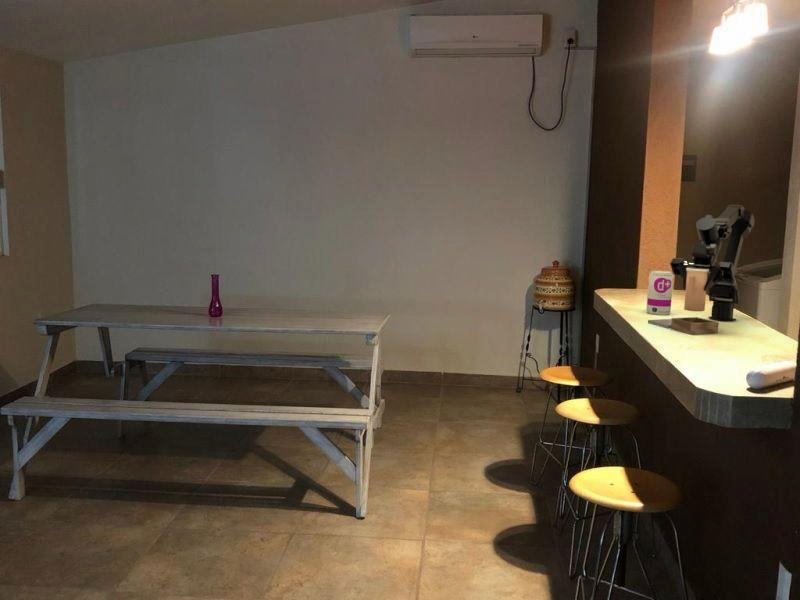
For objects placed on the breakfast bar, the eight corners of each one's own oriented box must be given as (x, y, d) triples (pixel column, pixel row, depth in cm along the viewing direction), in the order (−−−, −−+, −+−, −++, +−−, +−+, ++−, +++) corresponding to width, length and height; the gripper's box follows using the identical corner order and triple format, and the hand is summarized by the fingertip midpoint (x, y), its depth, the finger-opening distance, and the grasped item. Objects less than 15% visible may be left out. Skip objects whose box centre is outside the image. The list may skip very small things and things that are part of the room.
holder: (695, 327, 247) (696, 317, 246) (717, 333, 238) (718, 322, 237) (670, 329, 243) (671, 318, 243) (692, 334, 234) (693, 323, 234)
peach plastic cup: (687, 307, 245) (690, 266, 243) (708, 309, 241) (711, 268, 239) (677, 310, 238) (680, 269, 236) (699, 313, 234) (702, 270, 232)
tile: (672, 321, 257) (672, 318, 257) (693, 327, 248) (693, 324, 248) (647, 322, 254) (648, 320, 254) (668, 328, 244) (668, 325, 244)
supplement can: (671, 315, 270) (675, 273, 267) (647, 314, 271) (650, 272, 269) (668, 312, 278) (671, 271, 275) (644, 311, 279) (648, 270, 277)
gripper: (674, 232, 245) (659, 269, 239) (735, 236, 234) (721, 275, 227) (681, 255, 253) (666, 292, 246) (740, 260, 241) (727, 298, 234)
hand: (694, 289), depth 238 cm, fingers closed on peach plastic cup, 6 cm apart
